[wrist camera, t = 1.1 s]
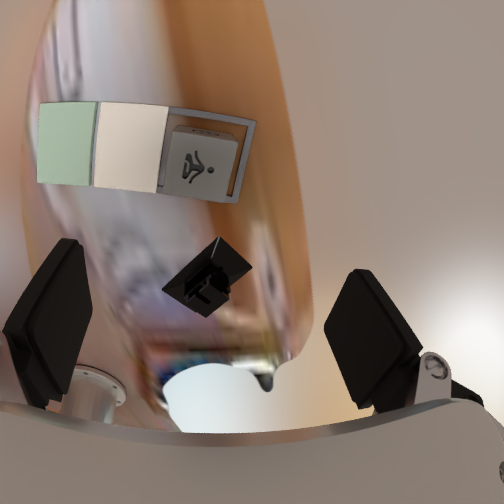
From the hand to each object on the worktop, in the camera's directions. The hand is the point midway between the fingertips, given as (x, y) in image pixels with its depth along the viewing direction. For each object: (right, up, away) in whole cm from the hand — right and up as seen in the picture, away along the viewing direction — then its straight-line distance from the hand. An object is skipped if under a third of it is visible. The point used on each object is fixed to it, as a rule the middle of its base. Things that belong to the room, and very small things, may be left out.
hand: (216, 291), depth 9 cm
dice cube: (-4, +10, +16) cm, 19 cm away
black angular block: (-4, -1, +23) cm, 24 cm away
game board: (-10, +11, +14) cm, 20 cm away
